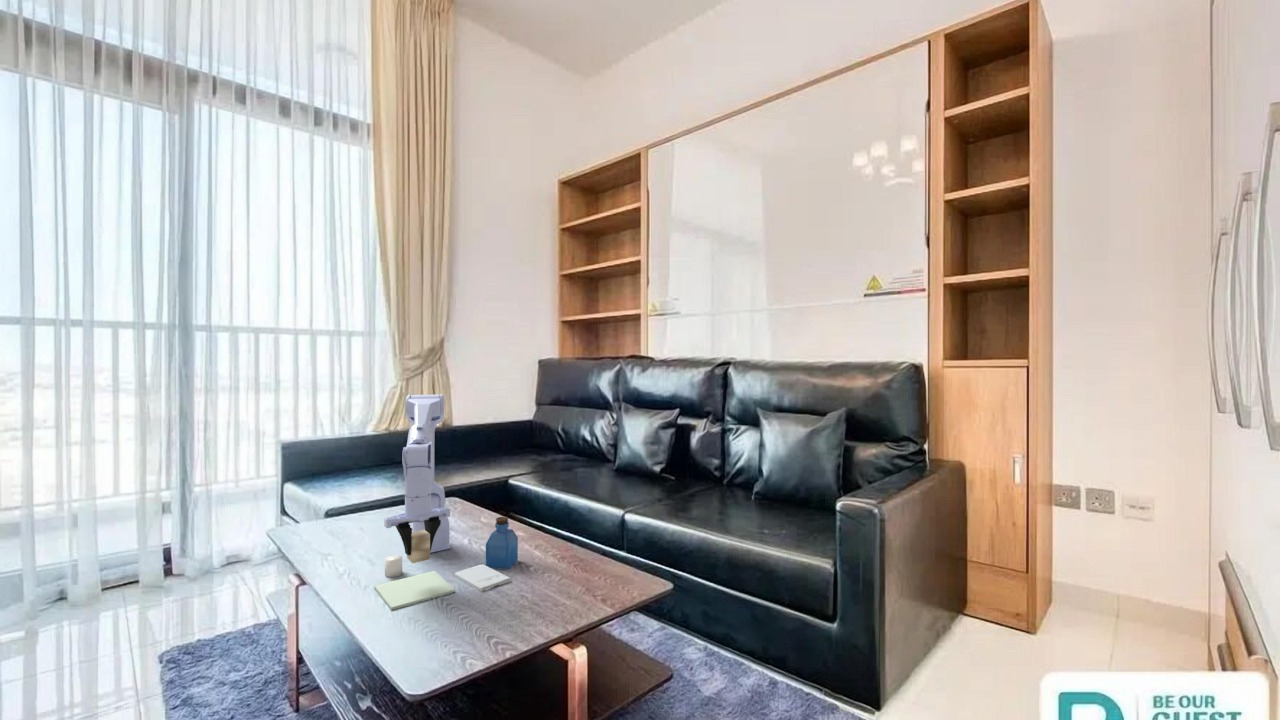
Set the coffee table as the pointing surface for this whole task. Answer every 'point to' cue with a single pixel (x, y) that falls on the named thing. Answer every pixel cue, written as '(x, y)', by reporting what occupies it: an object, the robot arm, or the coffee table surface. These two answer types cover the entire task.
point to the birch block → (419, 546)
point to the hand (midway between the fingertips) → (418, 551)
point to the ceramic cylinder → (393, 566)
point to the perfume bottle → (502, 546)
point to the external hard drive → (481, 577)
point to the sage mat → (413, 589)
